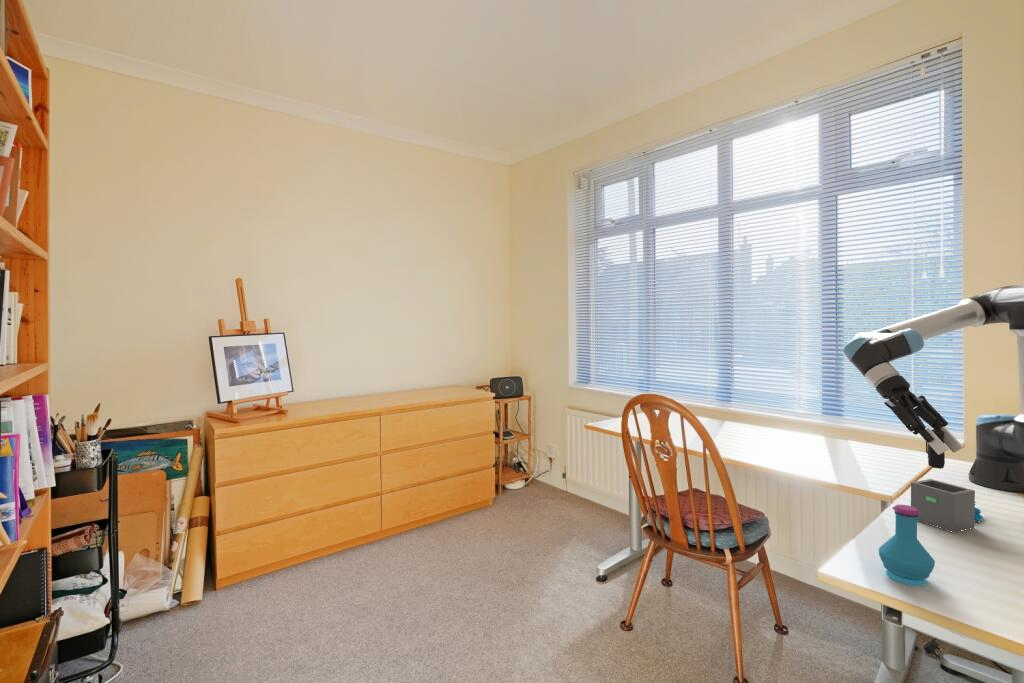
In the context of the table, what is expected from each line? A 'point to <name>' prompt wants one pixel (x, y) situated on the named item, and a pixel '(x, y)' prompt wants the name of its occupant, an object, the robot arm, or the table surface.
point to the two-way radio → (933, 457)
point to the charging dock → (944, 504)
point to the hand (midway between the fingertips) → (950, 450)
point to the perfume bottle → (906, 550)
